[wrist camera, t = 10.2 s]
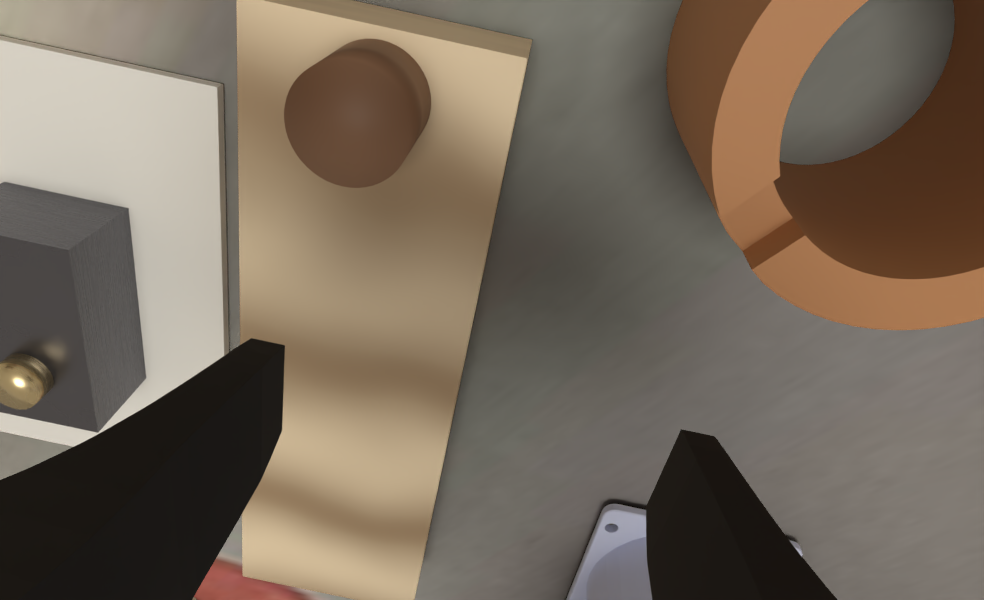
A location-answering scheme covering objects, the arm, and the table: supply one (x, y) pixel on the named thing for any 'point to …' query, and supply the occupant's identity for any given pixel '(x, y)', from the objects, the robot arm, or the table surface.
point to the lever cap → (67, 308)
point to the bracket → (836, 168)
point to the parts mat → (130, 194)
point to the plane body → (363, 270)
